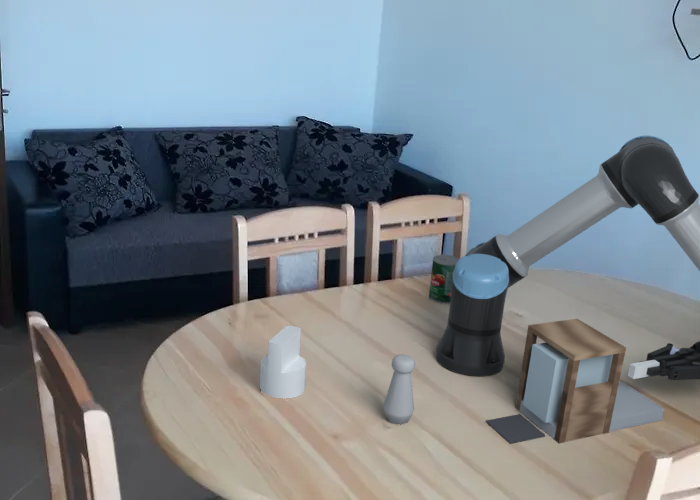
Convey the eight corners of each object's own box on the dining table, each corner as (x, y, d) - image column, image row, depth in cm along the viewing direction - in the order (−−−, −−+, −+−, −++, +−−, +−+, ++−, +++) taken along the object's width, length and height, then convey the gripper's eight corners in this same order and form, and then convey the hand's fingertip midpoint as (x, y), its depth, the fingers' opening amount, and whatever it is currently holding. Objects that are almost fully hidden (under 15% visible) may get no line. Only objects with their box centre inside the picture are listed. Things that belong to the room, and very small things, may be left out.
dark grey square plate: (519, 415, 153) (519, 413, 152) (545, 436, 146) (545, 435, 146) (485, 421, 149) (485, 420, 149) (510, 443, 142) (510, 442, 142)
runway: (615, 389, 166) (618, 379, 165) (662, 420, 155) (664, 409, 154) (516, 408, 155) (518, 397, 154) (558, 442, 144) (560, 430, 143)
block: (579, 394, 157) (590, 335, 153) (603, 411, 151) (615, 351, 147) (522, 404, 152) (532, 344, 147) (545, 422, 146) (556, 360, 141)
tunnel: (562, 398, 160) (577, 318, 155) (608, 432, 149) (626, 347, 143) (515, 407, 155) (528, 325, 150) (559, 443, 144) (574, 355, 138)
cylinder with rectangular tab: (293, 404, 150) (296, 348, 146) (251, 393, 153) (253, 338, 149) (311, 384, 158) (315, 331, 155) (271, 374, 161) (274, 321, 157)
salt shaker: (390, 429, 144) (396, 366, 140) (377, 413, 149) (383, 352, 145) (418, 424, 147) (425, 362, 142) (404, 409, 152) (410, 349, 147)
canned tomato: (463, 299, 209) (468, 260, 206) (447, 306, 204) (451, 266, 200) (439, 290, 214) (444, 252, 211) (422, 297, 209) (427, 258, 205)
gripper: (737, 386, 161) (652, 403, 152) (688, 359, 173) (605, 373, 163) (745, 353, 159) (659, 369, 149) (695, 328, 170) (612, 341, 161)
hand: (631, 371), depth 156 cm, fingers closed
